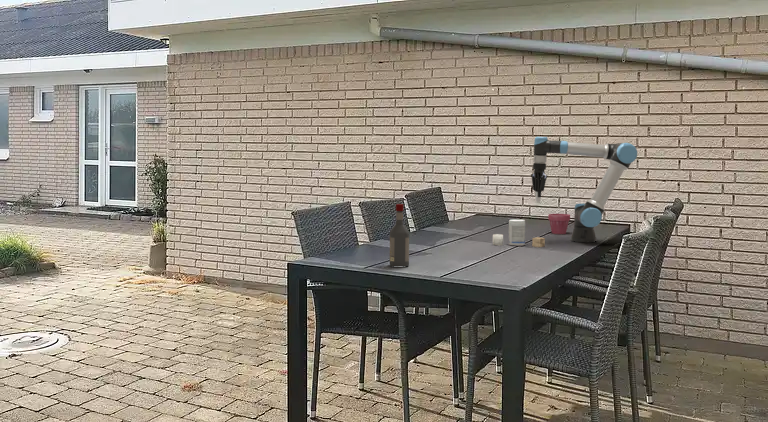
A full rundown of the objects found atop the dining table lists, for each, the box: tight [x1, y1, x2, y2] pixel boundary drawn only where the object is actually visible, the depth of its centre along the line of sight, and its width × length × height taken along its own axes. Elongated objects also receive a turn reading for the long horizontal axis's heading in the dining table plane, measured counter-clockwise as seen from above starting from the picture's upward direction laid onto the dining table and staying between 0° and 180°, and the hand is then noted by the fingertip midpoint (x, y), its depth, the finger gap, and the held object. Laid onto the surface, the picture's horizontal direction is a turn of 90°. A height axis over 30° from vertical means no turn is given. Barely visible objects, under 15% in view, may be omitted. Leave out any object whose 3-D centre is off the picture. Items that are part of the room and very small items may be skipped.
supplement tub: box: [508, 219, 526, 247], centre depth 420 cm, size 10×10×15 cm
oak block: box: [531, 236, 546, 248], centre depth 415 cm, size 5×5×5 cm
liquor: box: [389, 203, 410, 267], centre depth 345 cm, size 9×9×30 cm
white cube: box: [492, 233, 504, 247], centre depth 420 cm, size 6×6×6 cm
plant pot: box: [547, 213, 571, 235], centre depth 474 cm, size 14×14×13 cm
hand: (537, 202), depth 425 cm, fingers closed
